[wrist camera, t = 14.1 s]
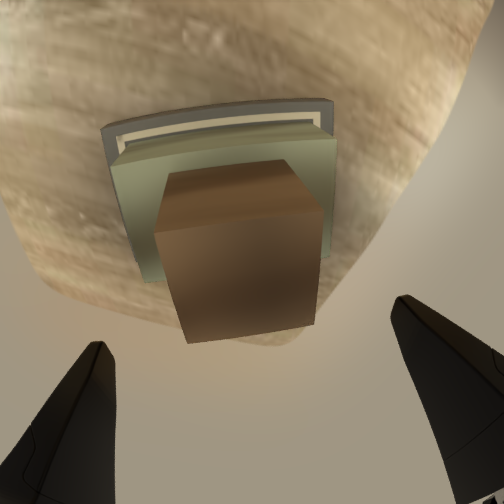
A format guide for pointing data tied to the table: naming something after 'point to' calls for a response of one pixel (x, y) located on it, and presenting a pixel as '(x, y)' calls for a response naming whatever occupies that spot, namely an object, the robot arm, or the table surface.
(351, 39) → the table surface
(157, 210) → the sage block
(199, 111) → the plinth
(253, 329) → the walnut cube
